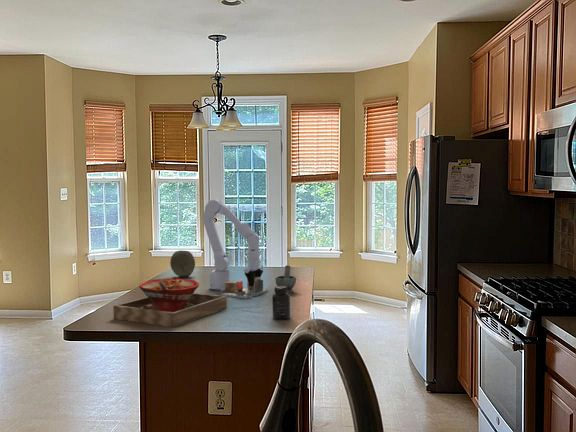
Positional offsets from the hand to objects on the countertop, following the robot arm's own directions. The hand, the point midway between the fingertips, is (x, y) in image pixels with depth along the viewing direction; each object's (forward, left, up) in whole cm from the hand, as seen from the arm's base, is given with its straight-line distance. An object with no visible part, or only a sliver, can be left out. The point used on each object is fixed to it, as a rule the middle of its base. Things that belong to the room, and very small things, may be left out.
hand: (254, 285), depth 266 cm
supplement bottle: (+41, -47, -2) cm, 62 cm away
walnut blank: (-5, -13, -2) cm, 14 cm away
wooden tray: (-2, -59, -1) cm, 59 cm away
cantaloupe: (-54, +12, -2) cm, 55 cm away
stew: (-3, -61, -2) cm, 61 cm away
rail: (+3, -21, -1) cm, 21 cm away
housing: (0, 0, -1) cm, 1 cm away
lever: (+5, -21, 0) cm, 22 cm away
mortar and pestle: (+18, 0, -2) cm, 18 cm away
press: (+5, -11, -1) cm, 12 cm away
